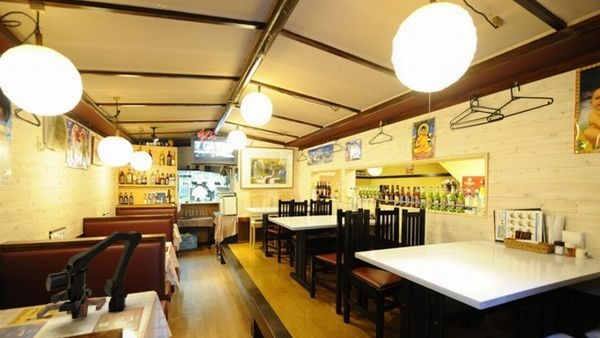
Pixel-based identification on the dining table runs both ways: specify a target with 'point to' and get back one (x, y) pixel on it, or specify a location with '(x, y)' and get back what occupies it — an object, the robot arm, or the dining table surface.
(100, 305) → the brown wooden rack
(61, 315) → the dining table surface
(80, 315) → the supplement bottle
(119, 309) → the robot arm
